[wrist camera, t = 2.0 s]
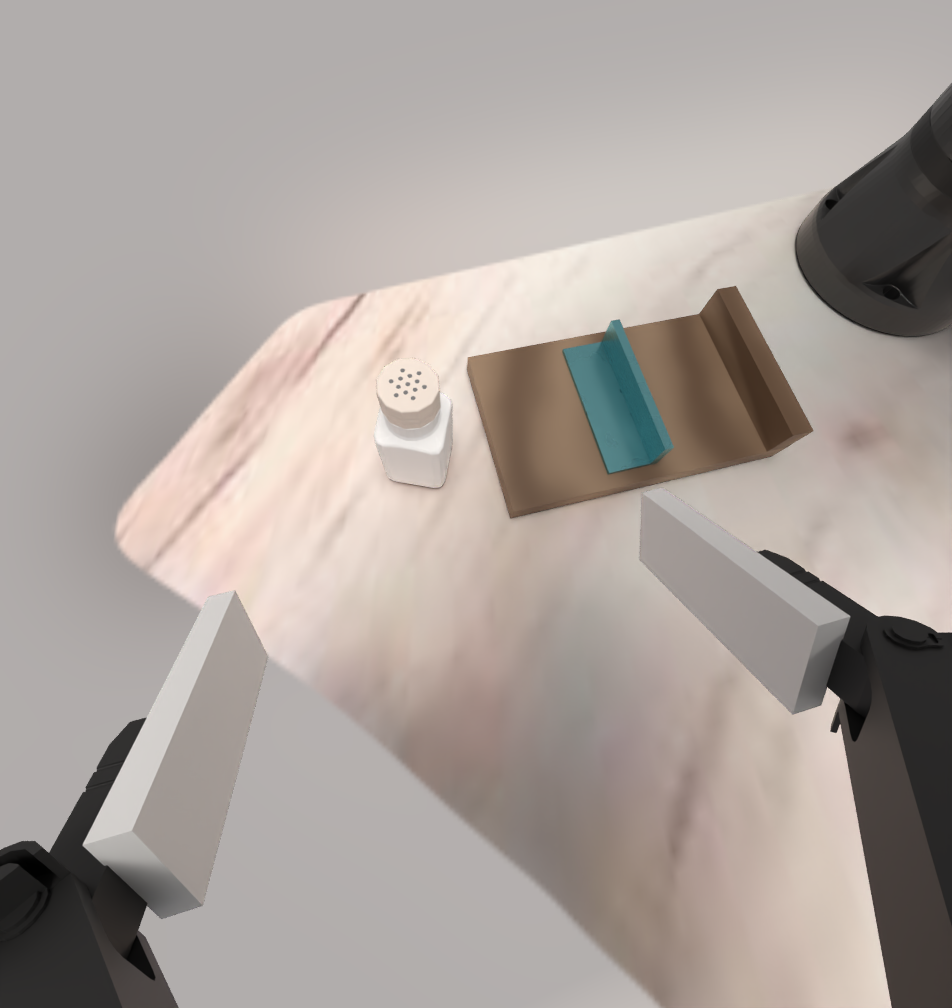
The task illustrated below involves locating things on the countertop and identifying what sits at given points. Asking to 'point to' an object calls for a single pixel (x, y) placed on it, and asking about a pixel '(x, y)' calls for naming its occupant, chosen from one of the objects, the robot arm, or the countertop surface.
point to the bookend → (618, 402)
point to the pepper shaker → (413, 423)
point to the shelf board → (674, 387)
